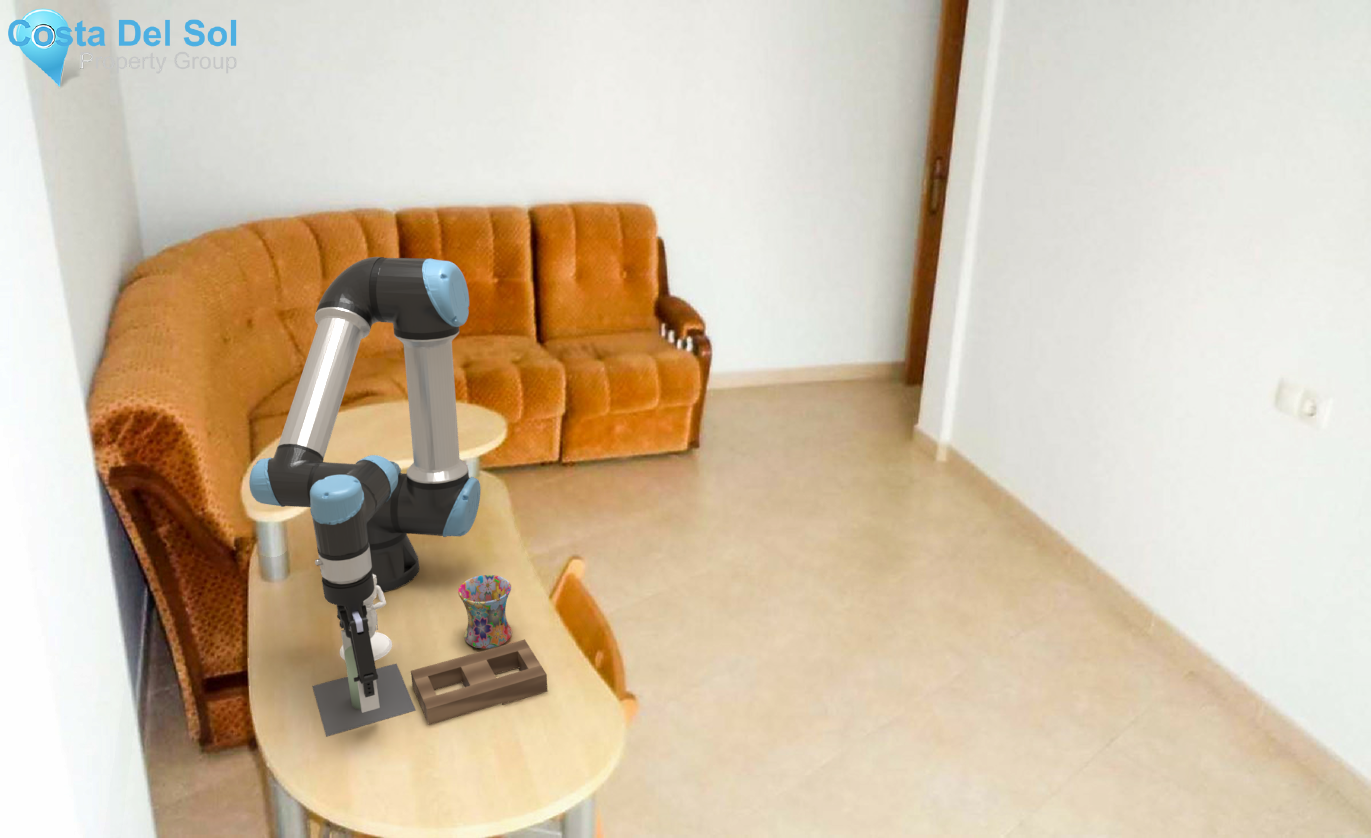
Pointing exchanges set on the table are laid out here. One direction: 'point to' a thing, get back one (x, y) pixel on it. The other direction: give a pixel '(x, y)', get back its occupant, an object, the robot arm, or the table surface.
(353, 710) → the rubber mat
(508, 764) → the table surface
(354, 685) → the sage peg
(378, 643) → the figurine
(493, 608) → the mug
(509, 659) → the walnut hole block
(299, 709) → the table surface
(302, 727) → the table surface
